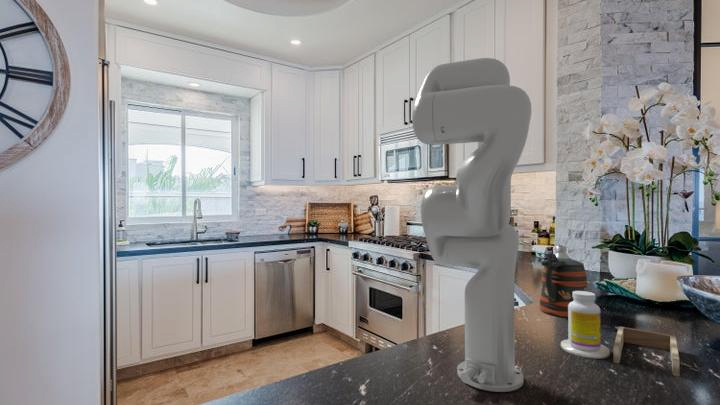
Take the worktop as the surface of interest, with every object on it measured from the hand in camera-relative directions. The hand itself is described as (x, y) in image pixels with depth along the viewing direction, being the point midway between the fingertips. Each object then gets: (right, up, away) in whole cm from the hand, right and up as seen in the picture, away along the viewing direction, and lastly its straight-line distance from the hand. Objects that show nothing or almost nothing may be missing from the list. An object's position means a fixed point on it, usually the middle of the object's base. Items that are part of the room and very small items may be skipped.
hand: (493, 224), depth 96 cm
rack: (+31, -30, -12) cm, 44 cm away
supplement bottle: (+19, -29, -8) cm, 36 cm away
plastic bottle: (+38, -30, +36) cm, 60 cm away
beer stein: (+30, -30, +22) cm, 48 cm away
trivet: (+19, -30, -8) cm, 36 cm away
